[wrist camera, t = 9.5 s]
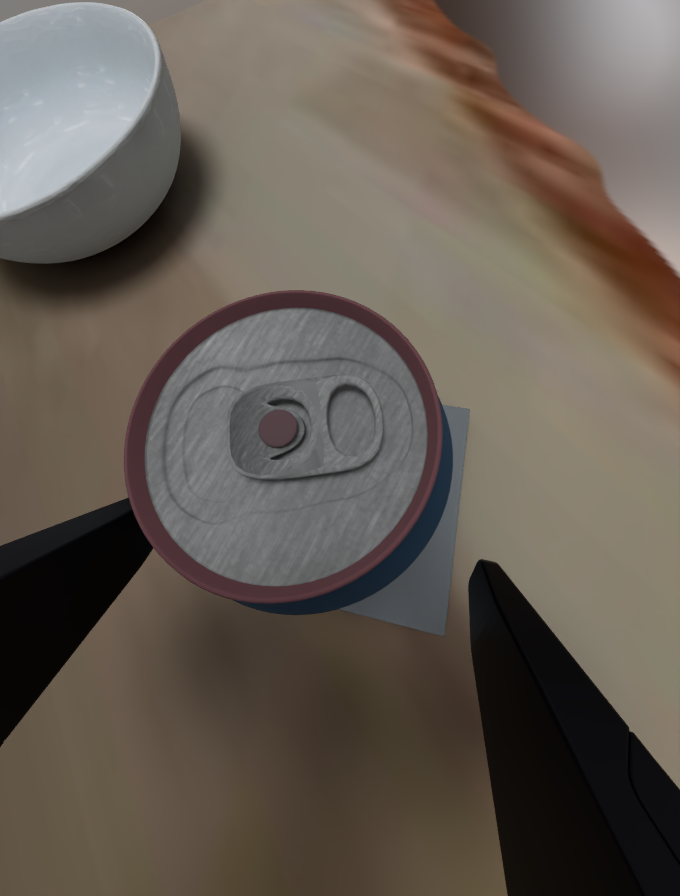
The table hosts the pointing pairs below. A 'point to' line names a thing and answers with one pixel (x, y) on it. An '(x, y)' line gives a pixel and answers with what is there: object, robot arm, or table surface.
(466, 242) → the table surface
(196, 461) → the soda can
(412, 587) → the mat
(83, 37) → the serving bowl
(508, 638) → the robot arm
